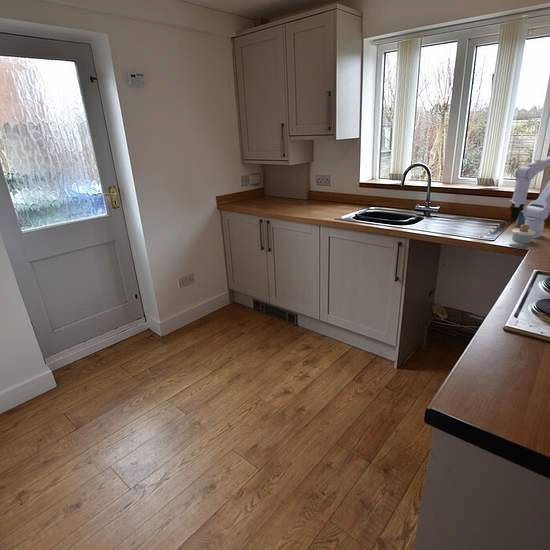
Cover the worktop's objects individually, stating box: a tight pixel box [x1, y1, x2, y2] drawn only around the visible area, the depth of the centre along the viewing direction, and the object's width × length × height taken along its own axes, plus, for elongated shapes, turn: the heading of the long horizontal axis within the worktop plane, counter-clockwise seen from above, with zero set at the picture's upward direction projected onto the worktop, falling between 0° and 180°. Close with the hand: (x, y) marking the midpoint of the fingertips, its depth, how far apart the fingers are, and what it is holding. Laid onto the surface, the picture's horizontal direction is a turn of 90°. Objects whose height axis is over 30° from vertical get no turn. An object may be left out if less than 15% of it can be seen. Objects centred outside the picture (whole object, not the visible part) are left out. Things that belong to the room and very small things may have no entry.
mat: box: [508, 243, 529, 250], centre depth 178 cm, size 8×8×1 cm
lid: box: [511, 224, 536, 235], centre depth 184 cm, size 10×10×4 cm
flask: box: [514, 210, 526, 228], centre depth 209 cm, size 9×3×11 cm, turn 48°
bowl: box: [511, 232, 533, 244], centre depth 185 cm, size 8×8×4 cm
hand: (514, 219), depth 186 cm, fingers open, 7 cm apart
